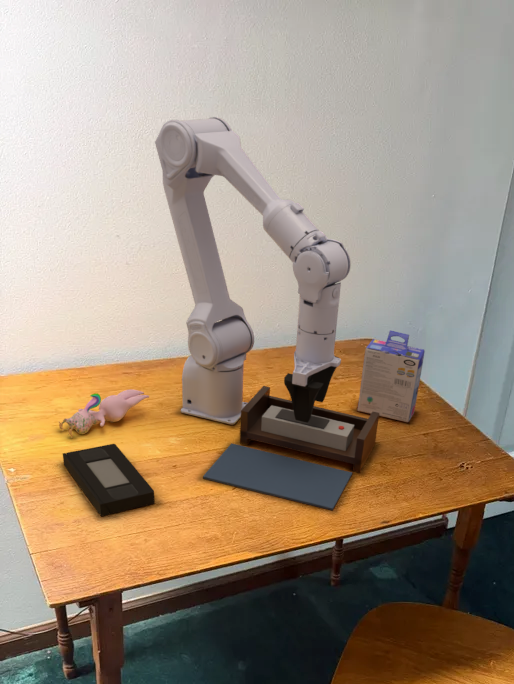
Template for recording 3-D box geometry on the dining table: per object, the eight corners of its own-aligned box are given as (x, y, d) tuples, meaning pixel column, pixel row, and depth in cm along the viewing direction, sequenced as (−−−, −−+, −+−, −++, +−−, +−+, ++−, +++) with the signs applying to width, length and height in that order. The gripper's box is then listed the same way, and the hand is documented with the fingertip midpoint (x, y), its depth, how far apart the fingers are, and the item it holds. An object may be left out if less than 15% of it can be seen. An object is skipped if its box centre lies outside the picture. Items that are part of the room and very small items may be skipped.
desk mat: (202, 478, 116) (202, 476, 116) (231, 445, 125) (231, 443, 125) (332, 510, 114) (332, 508, 114) (352, 474, 123) (352, 472, 123)
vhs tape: (115, 455, 118) (114, 443, 116) (155, 503, 109) (154, 491, 108) (64, 465, 113) (62, 453, 112) (101, 516, 105) (100, 504, 104)
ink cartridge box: (415, 411, 145) (428, 336, 136) (409, 424, 140) (423, 347, 132) (363, 399, 145) (373, 324, 137) (356, 411, 141) (366, 334, 133)
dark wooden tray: (239, 443, 126) (240, 410, 122) (261, 417, 134) (263, 385, 130) (359, 473, 124) (364, 439, 121) (374, 444, 132) (379, 412, 129)
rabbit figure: (79, 450, 120) (160, 410, 128) (70, 417, 115) (154, 378, 124) (56, 434, 122) (136, 395, 131) (46, 401, 118) (129, 364, 127)
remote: (261, 431, 125) (261, 415, 123) (270, 419, 129) (271, 403, 127) (345, 451, 124) (347, 435, 122) (352, 438, 127) (354, 423, 126)
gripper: (329, 350, 110) (320, 435, 117) (355, 317, 121) (346, 397, 129) (280, 339, 110) (275, 425, 118) (311, 307, 122) (305, 387, 130)
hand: (309, 410), depth 124 cm, fingers open, 7 cm apart
